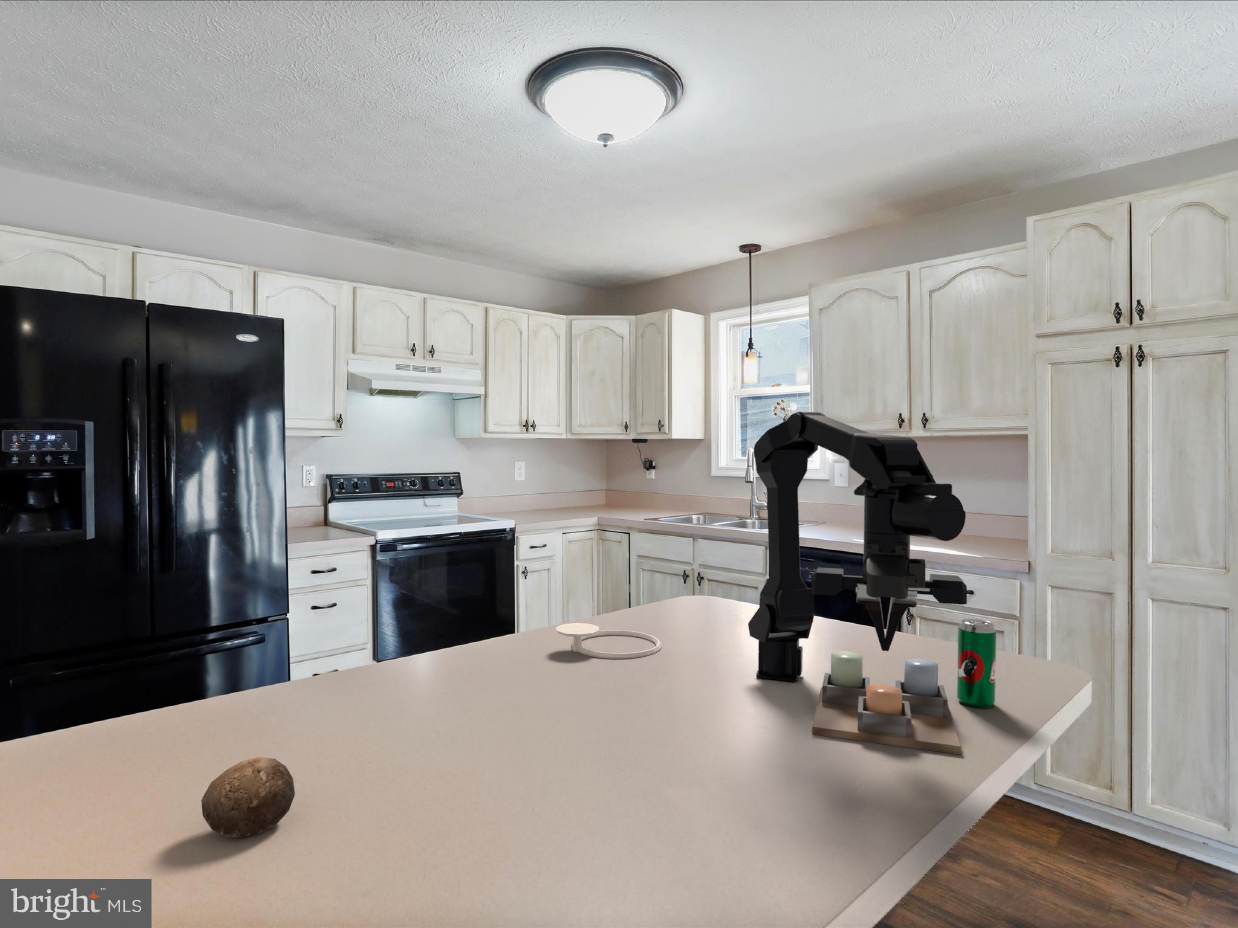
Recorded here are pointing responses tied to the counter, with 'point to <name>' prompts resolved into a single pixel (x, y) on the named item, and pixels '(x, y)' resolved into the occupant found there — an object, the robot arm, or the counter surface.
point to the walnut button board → (886, 718)
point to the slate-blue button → (921, 677)
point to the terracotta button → (884, 699)
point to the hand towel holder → (589, 630)
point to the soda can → (976, 663)
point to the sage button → (846, 669)
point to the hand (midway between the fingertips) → (885, 650)
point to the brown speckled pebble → (248, 797)
